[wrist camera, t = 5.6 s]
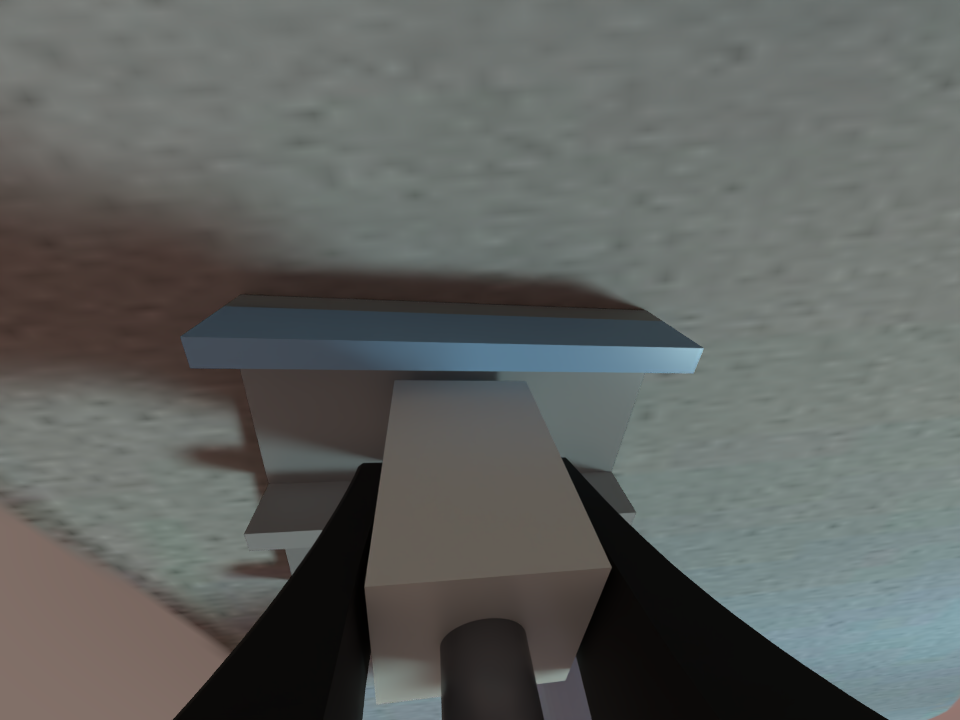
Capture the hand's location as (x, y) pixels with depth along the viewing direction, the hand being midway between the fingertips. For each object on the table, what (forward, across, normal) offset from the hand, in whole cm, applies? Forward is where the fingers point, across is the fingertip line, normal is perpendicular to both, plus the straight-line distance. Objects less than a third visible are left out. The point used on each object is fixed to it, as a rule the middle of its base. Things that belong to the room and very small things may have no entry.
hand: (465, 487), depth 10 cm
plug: (+2, 0, 0) cm, 3 cm away
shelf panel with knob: (+4, 0, +3) cm, 5 cm away
